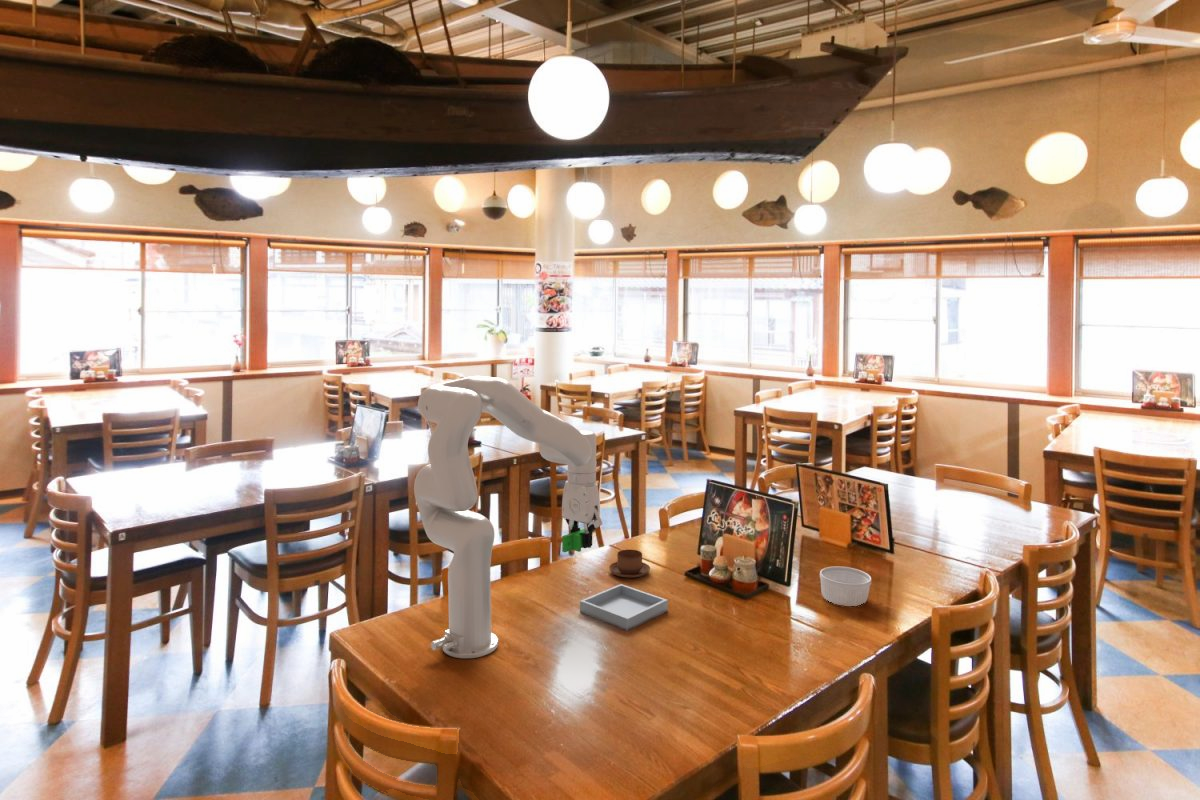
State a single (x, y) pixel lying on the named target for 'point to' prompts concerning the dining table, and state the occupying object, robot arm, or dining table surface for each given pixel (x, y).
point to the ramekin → (845, 585)
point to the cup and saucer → (629, 564)
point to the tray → (624, 606)
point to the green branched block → (573, 541)
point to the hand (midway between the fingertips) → (581, 544)
